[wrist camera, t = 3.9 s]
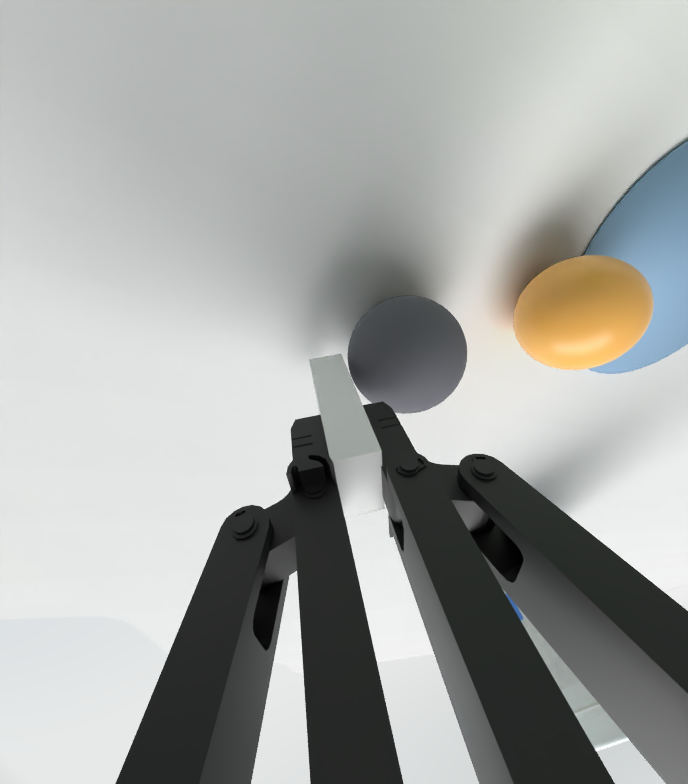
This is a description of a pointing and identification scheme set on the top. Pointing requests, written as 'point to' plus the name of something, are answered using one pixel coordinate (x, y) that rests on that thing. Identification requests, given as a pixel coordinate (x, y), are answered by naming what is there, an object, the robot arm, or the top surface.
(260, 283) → the top surface
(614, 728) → the supplement tub
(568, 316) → the object ball
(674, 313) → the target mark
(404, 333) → the gray sphere
